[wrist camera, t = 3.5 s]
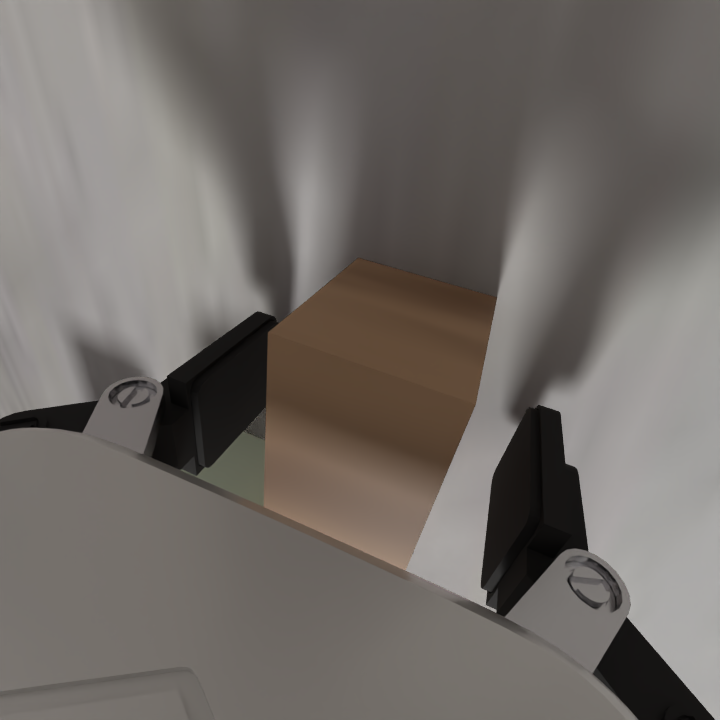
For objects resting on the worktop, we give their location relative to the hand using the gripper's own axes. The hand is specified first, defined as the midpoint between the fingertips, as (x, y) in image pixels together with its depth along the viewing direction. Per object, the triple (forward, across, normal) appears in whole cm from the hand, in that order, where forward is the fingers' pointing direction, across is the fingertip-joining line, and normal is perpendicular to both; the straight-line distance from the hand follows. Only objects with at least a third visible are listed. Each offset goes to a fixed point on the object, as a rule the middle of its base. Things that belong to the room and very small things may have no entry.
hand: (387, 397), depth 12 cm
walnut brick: (+1, 0, 0) cm, 1 cm away
